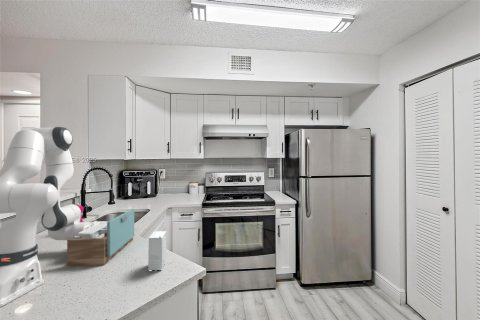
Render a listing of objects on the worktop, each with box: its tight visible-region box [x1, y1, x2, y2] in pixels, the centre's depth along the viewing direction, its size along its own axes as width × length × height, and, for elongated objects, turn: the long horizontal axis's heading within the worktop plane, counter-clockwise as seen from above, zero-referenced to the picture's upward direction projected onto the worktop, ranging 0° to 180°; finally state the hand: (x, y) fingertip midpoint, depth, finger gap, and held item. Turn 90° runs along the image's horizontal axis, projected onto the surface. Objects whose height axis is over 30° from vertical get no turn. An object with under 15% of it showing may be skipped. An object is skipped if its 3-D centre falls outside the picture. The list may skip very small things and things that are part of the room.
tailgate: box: [107, 208, 135, 257], centre depth 118 cm, size 28×2×16 cm, turn 4°
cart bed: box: [66, 219, 134, 267], centre depth 117 cm, size 32×16×12 cm, turn 4°
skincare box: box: [147, 230, 167, 270], centre depth 100 cm, size 8×6×15 cm
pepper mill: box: [75, 202, 85, 222], centre depth 145 cm, size 7×7×20 cm
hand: (112, 230), depth 118 cm, fingers closed
